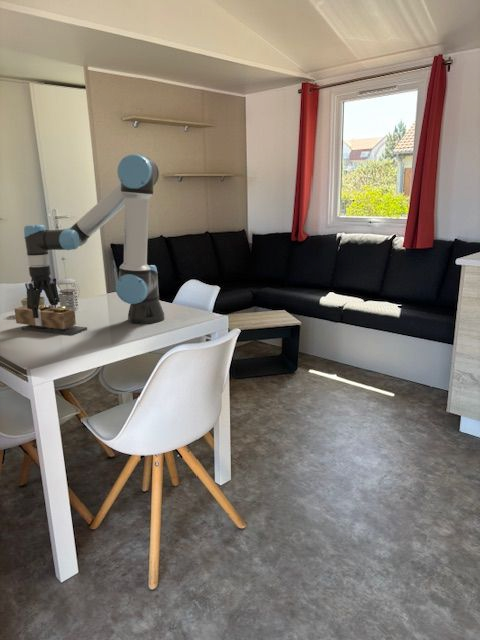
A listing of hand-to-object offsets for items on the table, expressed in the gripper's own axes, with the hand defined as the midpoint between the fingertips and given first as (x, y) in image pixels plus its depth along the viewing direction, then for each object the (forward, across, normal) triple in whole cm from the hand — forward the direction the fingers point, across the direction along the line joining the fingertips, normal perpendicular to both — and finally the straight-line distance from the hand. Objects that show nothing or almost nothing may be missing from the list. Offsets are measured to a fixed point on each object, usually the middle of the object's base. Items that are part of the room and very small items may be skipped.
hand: (46, 323), depth 185 cm
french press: (+3, -29, -14) cm, 32 cm away
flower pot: (+3, -19, -26) cm, 32 cm away
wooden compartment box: (0, 0, 0) cm, 0 cm away
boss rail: (+2, 0, +4) cm, 4 cm away
